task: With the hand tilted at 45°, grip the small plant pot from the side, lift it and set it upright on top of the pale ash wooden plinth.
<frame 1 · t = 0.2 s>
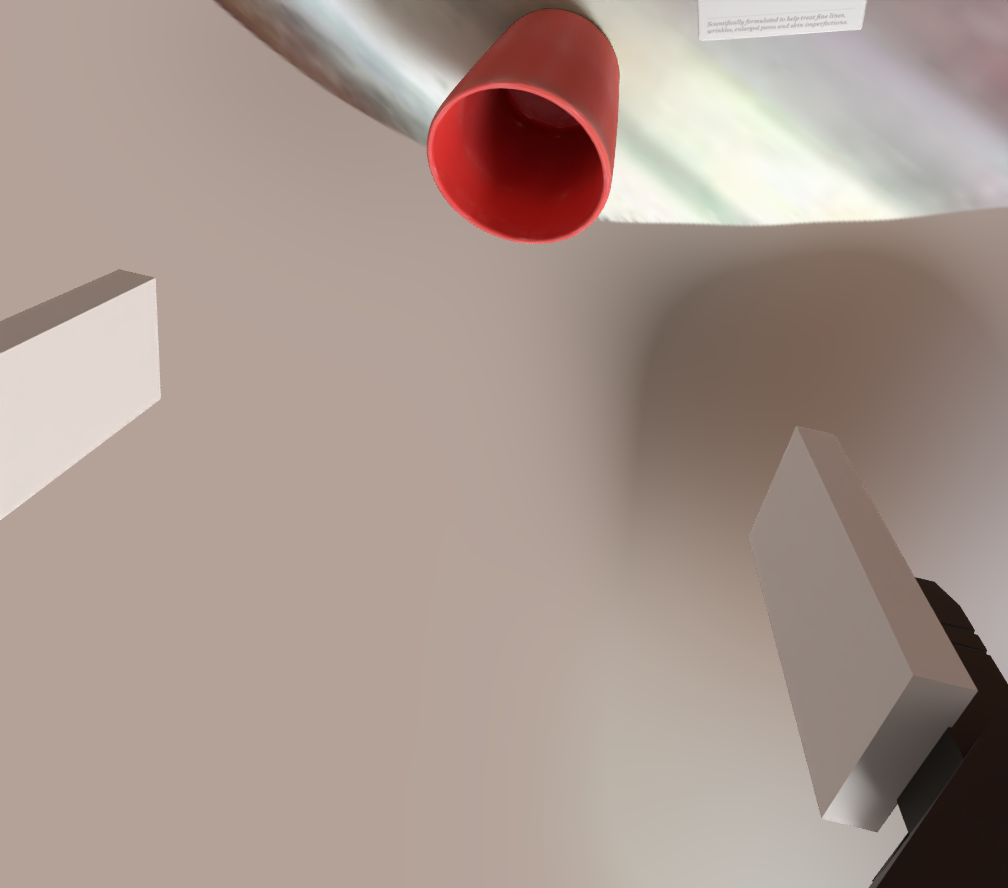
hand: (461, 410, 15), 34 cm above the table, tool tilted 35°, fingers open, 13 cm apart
flower pot: (557, 67, 46), on the table
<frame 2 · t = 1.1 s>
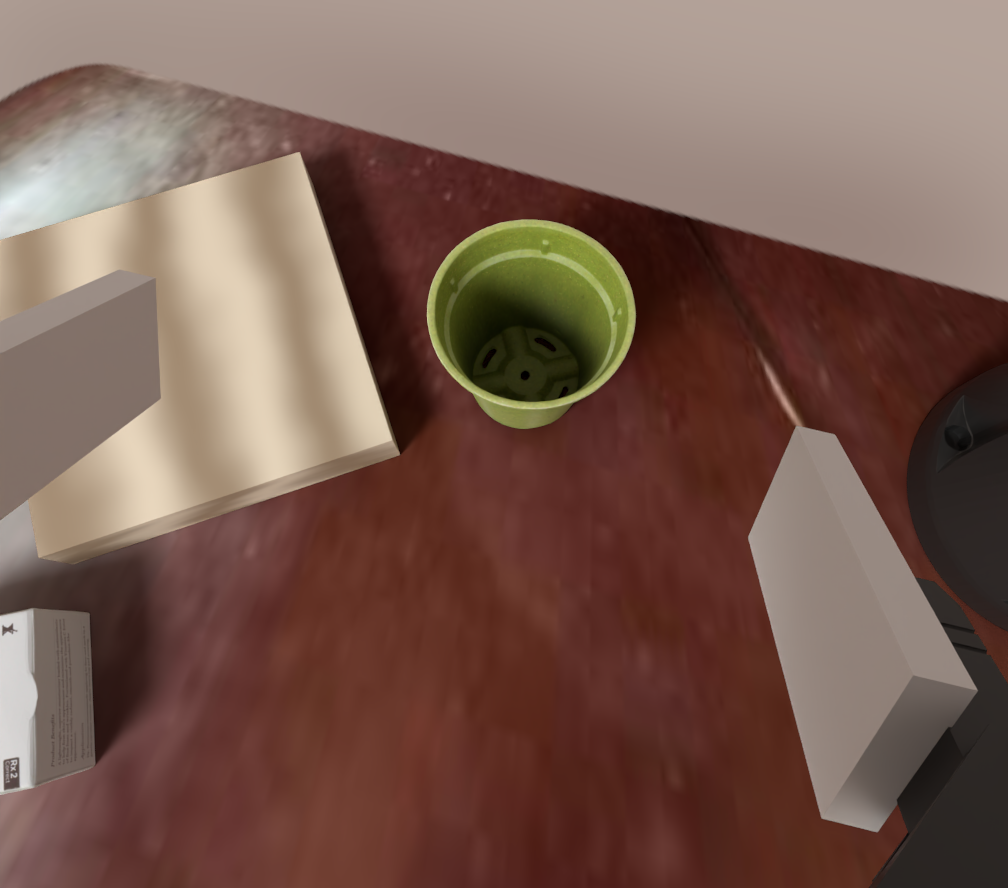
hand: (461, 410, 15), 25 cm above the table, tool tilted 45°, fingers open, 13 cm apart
plinth: (201, 360, 42), on the table
small box: (21, 702, 38), on the table
plant pot: (525, 378, 42), on the table
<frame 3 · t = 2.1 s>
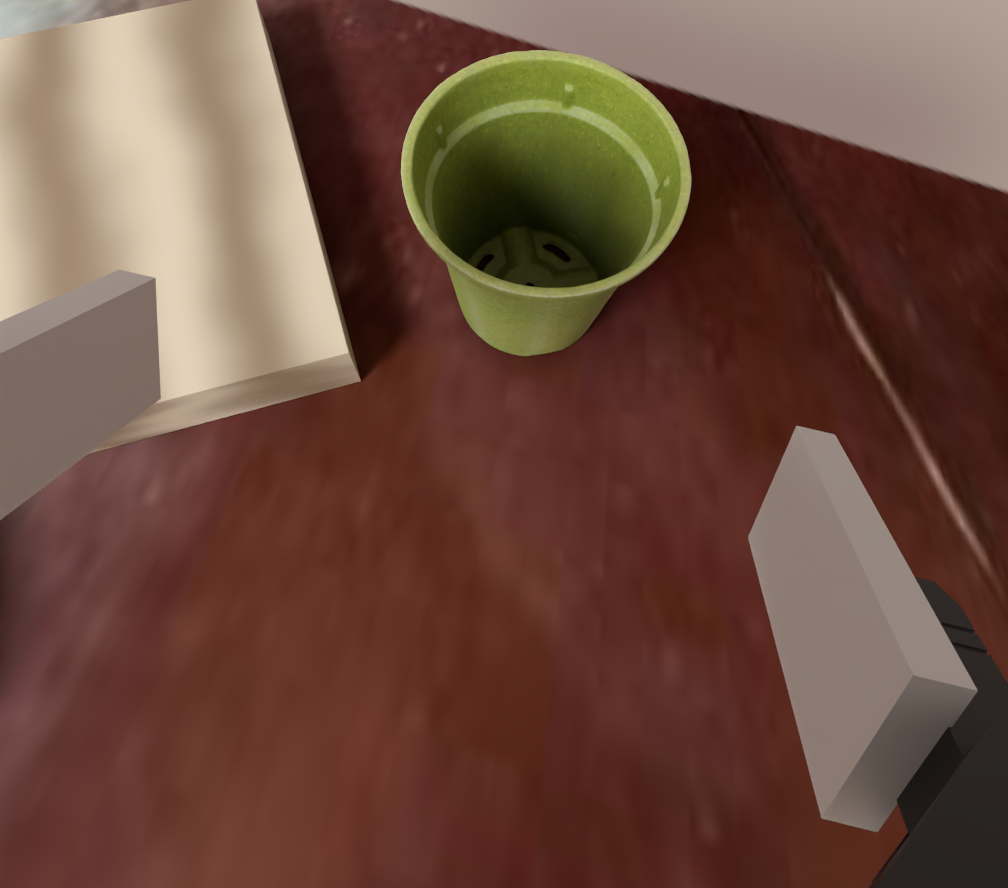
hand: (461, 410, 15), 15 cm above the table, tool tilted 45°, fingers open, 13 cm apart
plinth: (108, 248, 32), on the table
plant pot: (529, 294, 32), on the table
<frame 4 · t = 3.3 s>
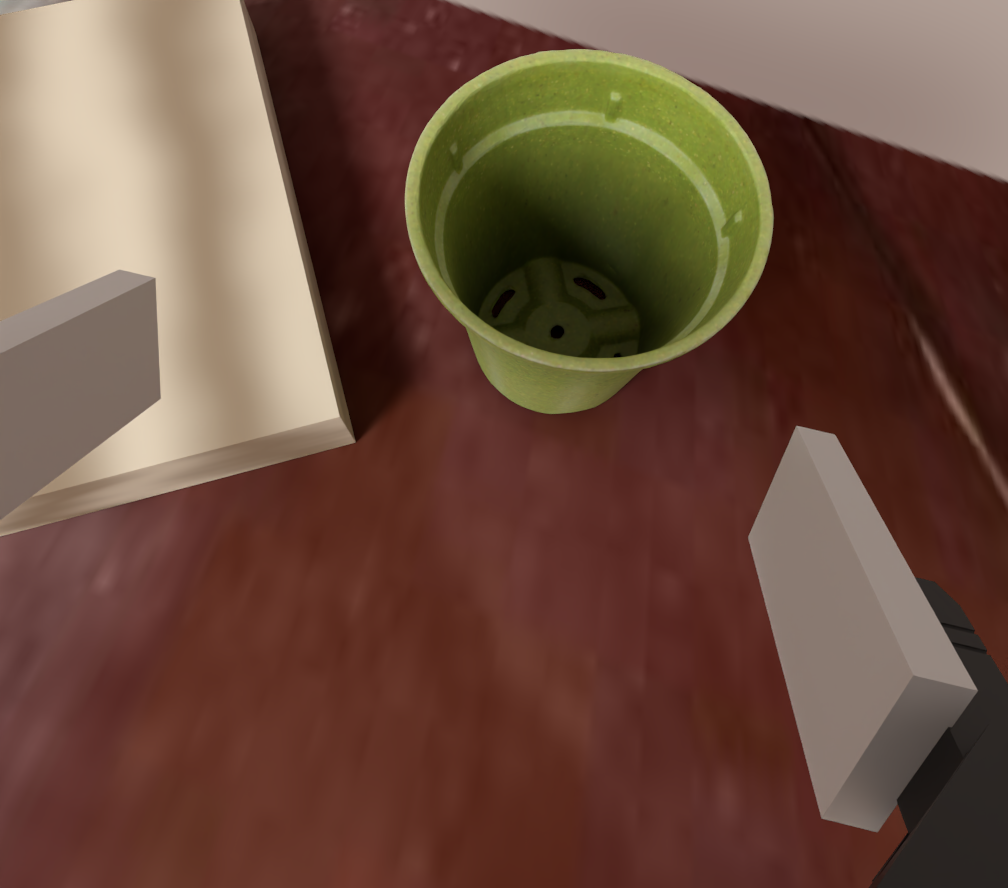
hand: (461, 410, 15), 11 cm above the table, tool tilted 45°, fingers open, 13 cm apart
plinth: (60, 278, 27), on the table
plant pot: (556, 337, 27), on the table
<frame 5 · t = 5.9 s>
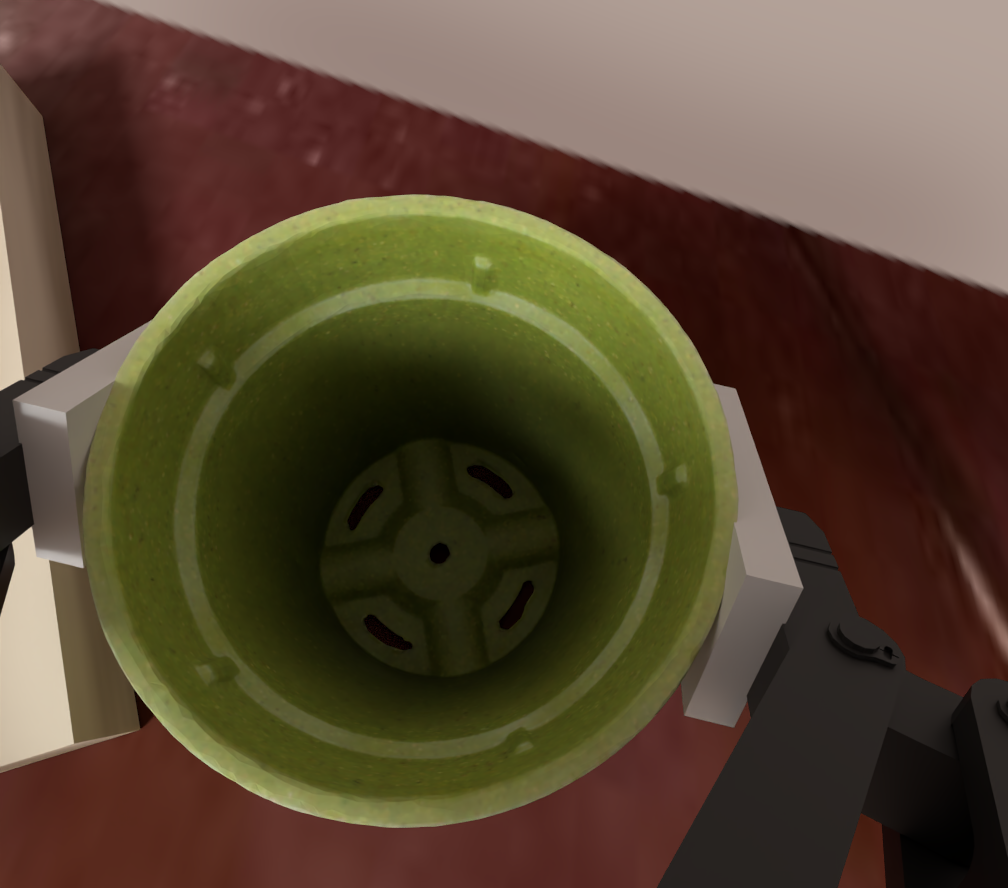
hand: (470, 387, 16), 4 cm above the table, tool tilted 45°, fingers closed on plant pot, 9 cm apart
plant pot: (443, 553, 19), on the table, touching gripper
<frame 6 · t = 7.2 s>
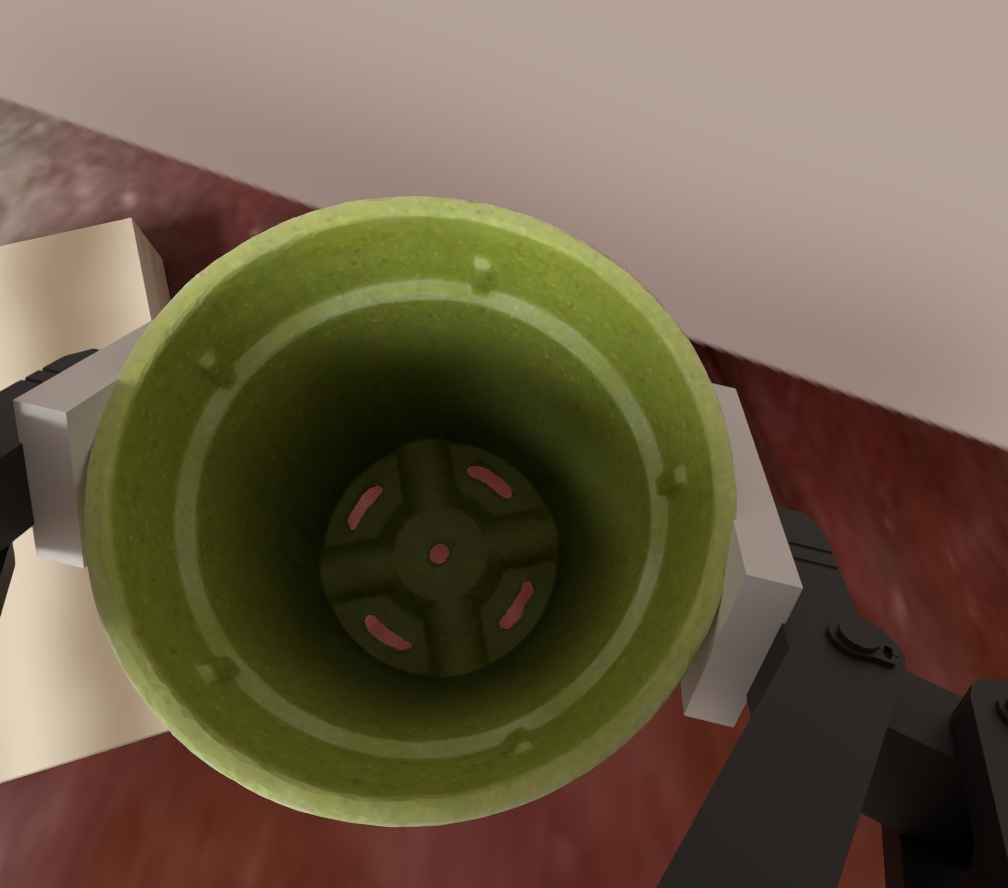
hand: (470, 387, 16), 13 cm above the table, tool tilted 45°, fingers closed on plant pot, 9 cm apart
plant pot: (443, 553, 19), point 8 cm above the table, touching gripper
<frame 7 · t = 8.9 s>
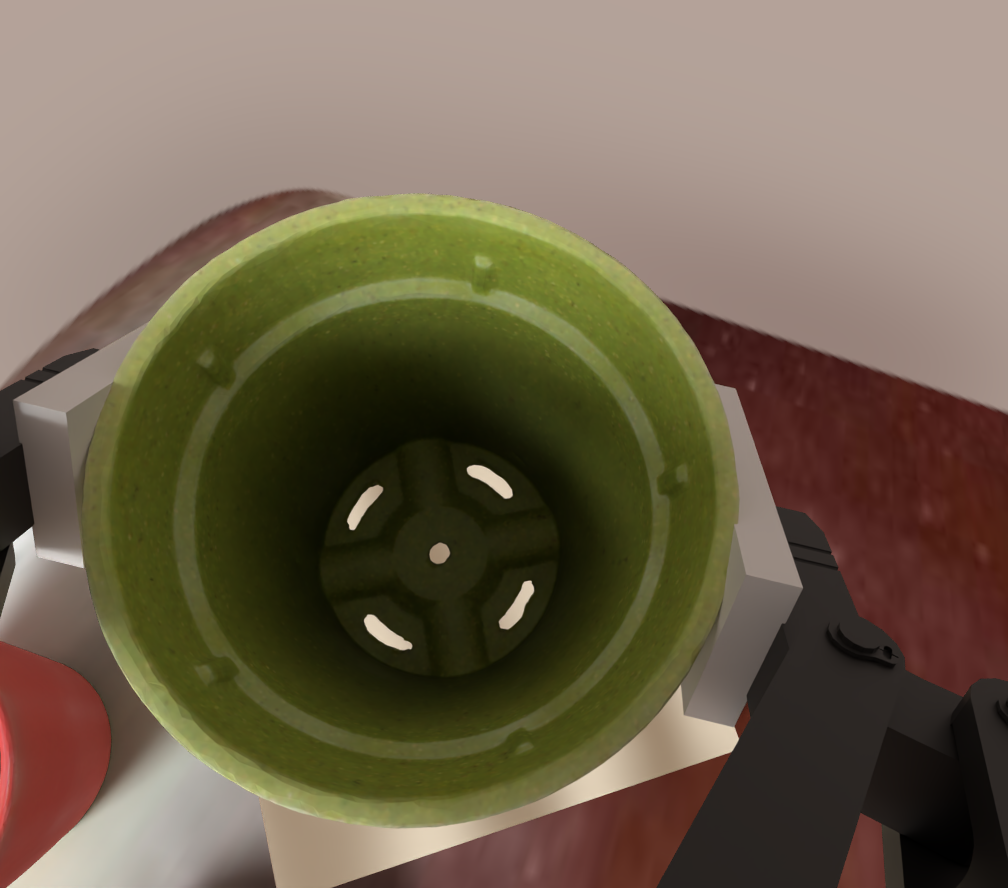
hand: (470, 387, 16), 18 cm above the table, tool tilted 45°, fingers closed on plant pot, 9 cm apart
plinth: (455, 594, 33), on the table
flower pot: (22, 752, 31), on the table
plant pot: (443, 553, 19), point 14 cm above the table, touching gripper
when the fingers open (8 cm above the table, at t = 11.2 s): plant pot drops 1 cm, resting on plinth.
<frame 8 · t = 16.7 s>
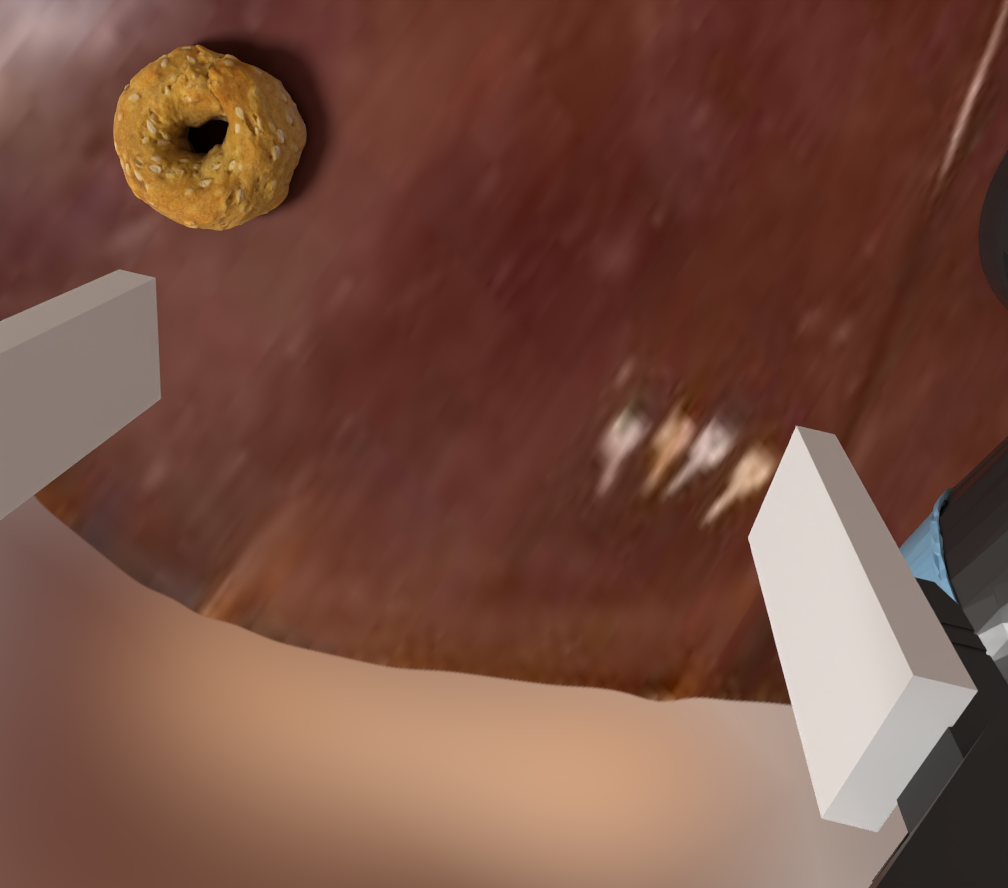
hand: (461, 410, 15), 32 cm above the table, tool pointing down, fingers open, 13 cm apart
bagel: (226, 136, 45), on the table
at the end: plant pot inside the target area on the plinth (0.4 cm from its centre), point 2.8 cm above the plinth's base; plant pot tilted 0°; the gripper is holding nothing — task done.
